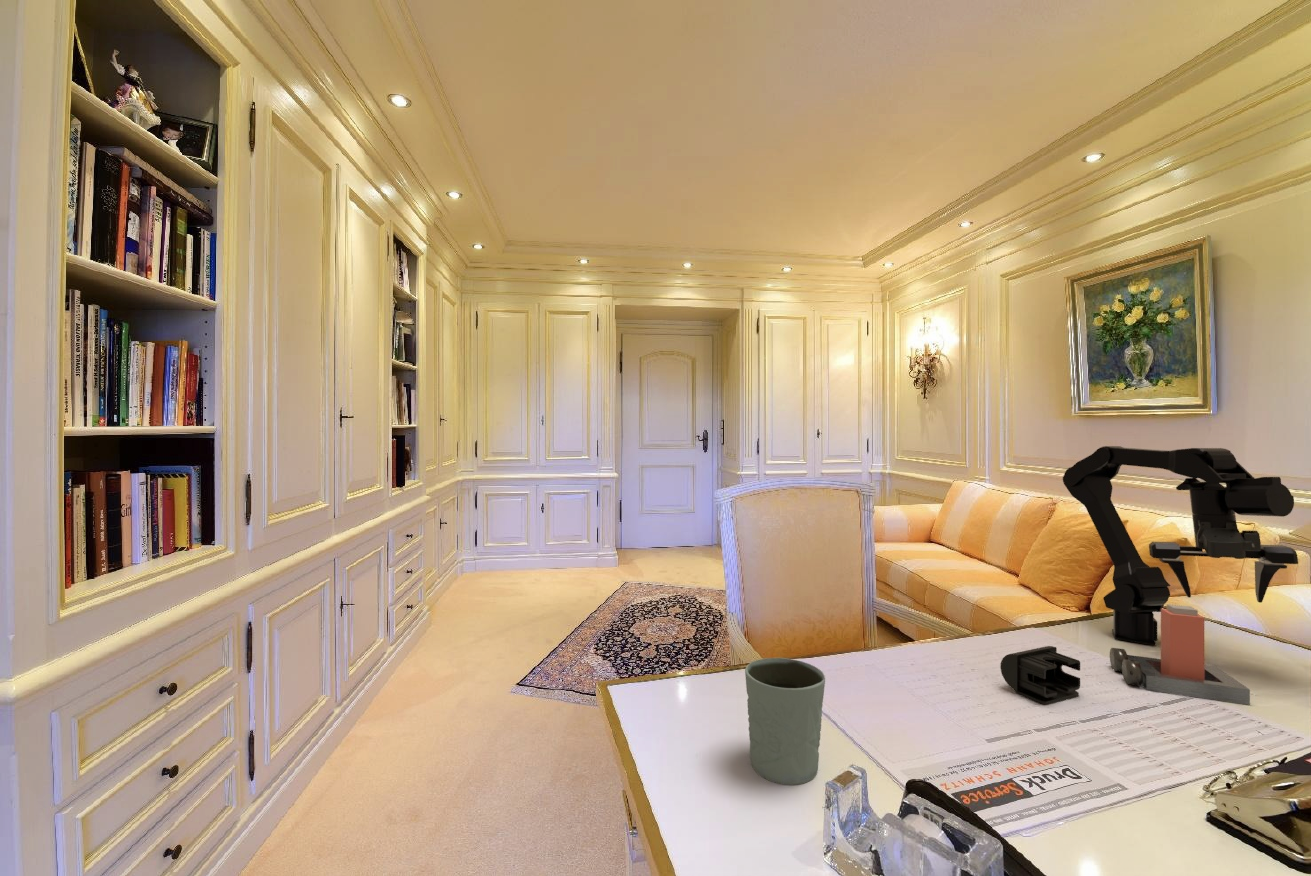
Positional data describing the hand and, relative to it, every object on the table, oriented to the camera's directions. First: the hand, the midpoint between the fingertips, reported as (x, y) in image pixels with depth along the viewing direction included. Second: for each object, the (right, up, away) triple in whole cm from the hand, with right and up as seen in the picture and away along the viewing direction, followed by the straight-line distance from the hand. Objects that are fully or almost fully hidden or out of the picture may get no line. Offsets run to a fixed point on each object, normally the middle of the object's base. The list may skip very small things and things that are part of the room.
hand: (1223, 599), depth 101 cm
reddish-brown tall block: (-14, -13, -6) cm, 20 cm away
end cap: (-40, -13, -9) cm, 43 cm away
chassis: (-15, -13, -6) cm, 20 cm away
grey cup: (-88, -13, -30) cm, 94 cm away
